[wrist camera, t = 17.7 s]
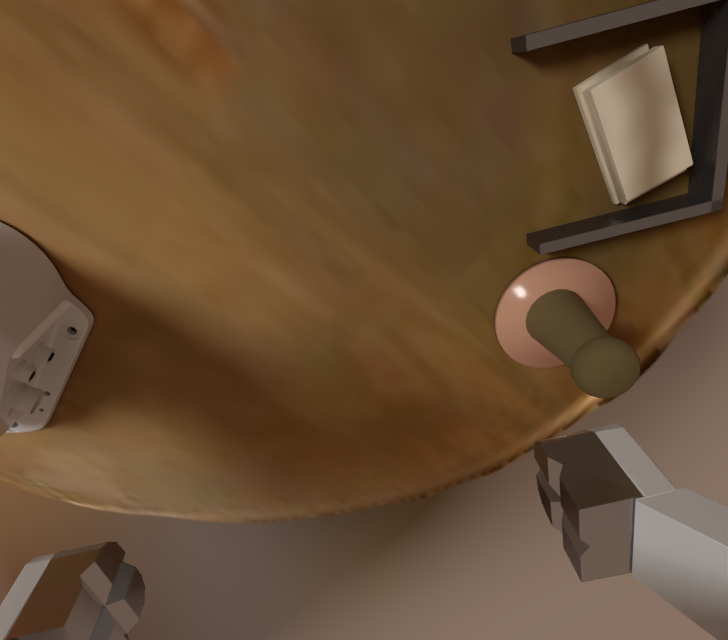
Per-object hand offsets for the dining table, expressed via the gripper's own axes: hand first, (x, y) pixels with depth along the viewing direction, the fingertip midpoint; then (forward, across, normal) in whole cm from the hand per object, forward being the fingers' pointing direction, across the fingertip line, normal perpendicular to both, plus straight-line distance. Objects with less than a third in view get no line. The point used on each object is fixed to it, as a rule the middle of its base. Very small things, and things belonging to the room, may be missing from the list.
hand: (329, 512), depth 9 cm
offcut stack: (+36, -26, +3) cm, 44 cm away
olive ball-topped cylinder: (+34, -19, +19) cm, 43 cm away
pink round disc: (+35, -19, +19) cm, 44 cm away
